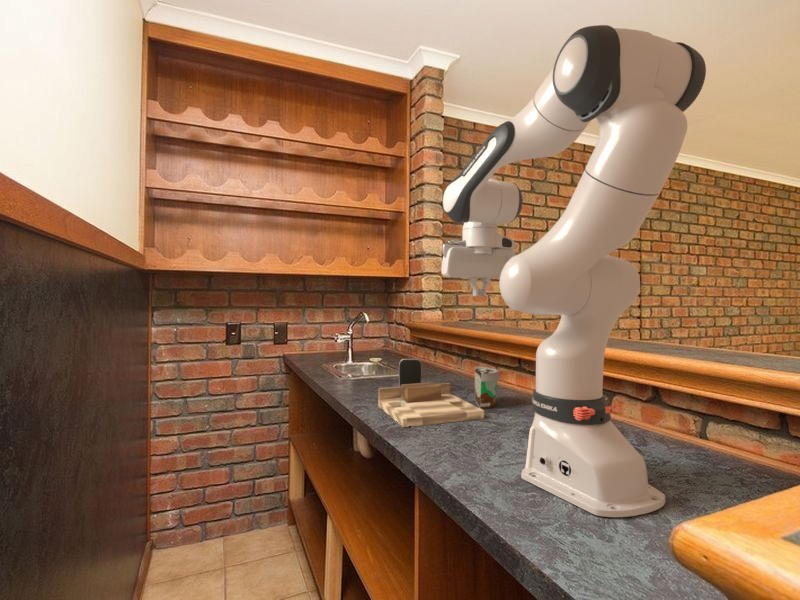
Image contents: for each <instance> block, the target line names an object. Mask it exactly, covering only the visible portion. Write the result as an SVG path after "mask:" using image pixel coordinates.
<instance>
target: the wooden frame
mask: <svg viewBox="0 0 800 600" xmlns="http://www.w3.org/2000/svg"><path fill="white" fill-rule="evenodd" d="M437 384H438V385H441V400H436V401H425V402H414V403H407V402H405V401H404V400H402V399H401V387H399V386H391V387H379V388H378V389H377V390H378V391H377V392H378V402H377V403H378V405H377V406H378V407H379V408H380V409H381V410H382V409H383V410H382V411H384V412H385V413H386V414H387V415H388V416H389V415H390V416H391V417H390V416H389V417H390V418H392V419H393V420H394V421H395V422H396V421H397V422H398V423H397V422H396V423H397V424H398V425H400V426H401V427H402V428H408V427H409V426H411V427H419V426H427V425H438V424H445V423H446V424H448V423H453V422H454V423H455V422H463V421H464V422H465V421H473V420H480V419H481V420H482V419H485V409H480V408H479V407H478V406H476V405H474V404H472V403H470V402H469V401H466V400H464V399H462V398H460V397H458V396H456V395H454V394H451V383H450V382H445V383H444V382H441V383H437ZM409 428H410V427H409Z"/></svg>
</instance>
